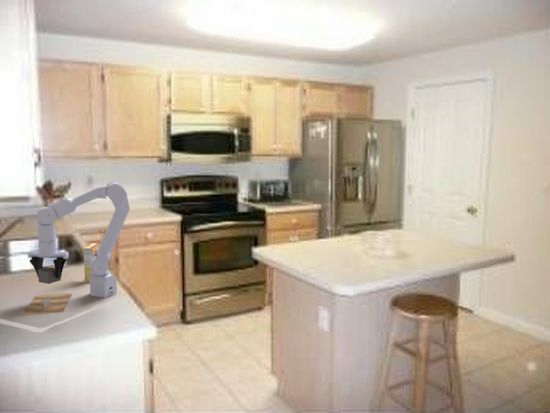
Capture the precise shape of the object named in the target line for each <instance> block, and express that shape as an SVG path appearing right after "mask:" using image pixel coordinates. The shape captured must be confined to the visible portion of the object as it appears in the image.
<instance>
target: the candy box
mask: <svg viewBox="0 0 550 413" xmlns="http://www.w3.org/2000/svg"><path fill="white" fill-rule="evenodd" d="M100 244H101V243H96V242H95V243H90V244H88V245H87V246H84V247H83V264H84V266H83V267H84V270H83V271H84V284H86V285H90V280H89V273H90V272H91V266H90V264H89V261H90V258H91V257H92V256H93V255H94V254H95V253H96V251H97V249H98V248H99V246H100Z"/></svg>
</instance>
